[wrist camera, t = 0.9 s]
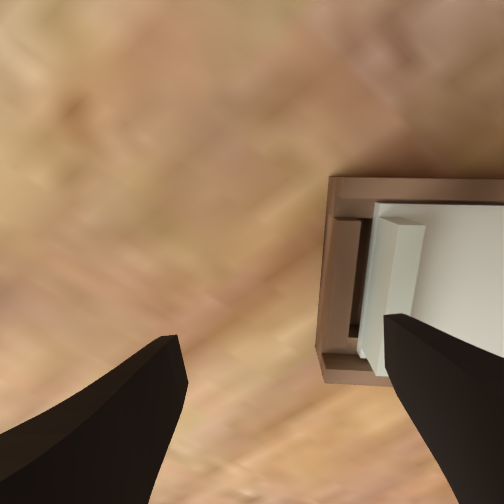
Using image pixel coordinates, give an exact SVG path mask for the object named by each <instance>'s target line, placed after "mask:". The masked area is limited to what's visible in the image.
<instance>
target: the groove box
mask: <svg viewBox="0 0 504 504" xmlns="http://www.w3.org/2000/svg"><path fill="white" fill-rule="evenodd" d="M375 202H402V203H456V204H504V179H466V178H395V177H329V182H328V195H327V207H326V220H325V232H324V244H323V257H322V269H321V282H320V294H319V307H318V319H317V331H316V344H315V348H316V352H317V356H318V359H319V363H320V367H321V371H322V375H323V379H324V383H329V384H348V385H367V386H386V387H393V385H392V383H391V381H390V378H389V377H387V376H376V375H375V373H374V371H373V369H372V367H371V365H370V363H369V361H368V360H367V358H360V356H359V354H358V352H357V343H358V335H359V327H360V319H361V311H362V303H363V295H364V287H365V278H366V270H367V262H368V254H369V246H370V238H371V230H372V222H373V214H374V206H375Z"/></svg>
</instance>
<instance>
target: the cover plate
mask: <svg viewBox="0 0 504 504" xmlns="http://www.w3.org/2000/svg"><path fill="white" fill-rule="evenodd" d="M398 313H403V314H406V315H409V316H411V317H413V318H415V319H418V320H420V321H422V322H424V323H426V324H428V325H430V326H433V327H435V328H437V329H439V330H441V331H443V332H445V333H447V334H449V335H452V336H454V337H456V338H458V339H460V340H463V341H465V342H467V343H469V344H472V345H474V346H476V347H479V348H481V349H483V350H486V351H488V352H491V353H493V354H496V355H498V356H500V357H503V358H504V204H456V203H402V202H375V206H374V214H373V222H372V230H371V238H370V246H369V254H368V262H367V270H366V278H365V287H364V295H363V303H362V311H361V319H360V327H359V335H358V343H357V352H358V354H359V356H360V358H367V360H368V361H369V363H370V365H371V367H372V369H373V371H374V373H375V375H376V376H387V377H389V376H388V374H387V371H386V369H385V359H384V324H383V315H387V314H398Z"/></svg>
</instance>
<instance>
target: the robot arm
mask: <svg viewBox="0 0 504 504" xmlns="http://www.w3.org/2000/svg"><path fill="white" fill-rule="evenodd" d="M383 324H384V359H385V369H386V371H387V374H388V376H389V378H390V381H391V383H392V385H393V387H394V390H395V392H396V394H397V396H398V398H399V399H400V401H401V403H402V405H403V406H404V408H405V410H406V411H407V413H408V415H409V416H410V418H411V420H412V421H413V423H414V425H415V426H416V428H417V430H418V431H419V433H420V435H421V436H422V438H423V440H424V441H425V443H426V445H427V446H428V448H429V449H430V451H431V453H432V454H433V456H434V458H435V459H436V461H437V463H438V464H439V466H440V468H441V470H442V472H443V473H444V475H445V477H446V479H447V481H448V482H449V484H450V486H451V488H452V490H453V492H454V494H455V496H456V498H457V500H458V502H459V504H504V358H503V357H500V356H498V355H496V354H493V353H491V352H488V351H486V350H483V349H481V348H479V347H476V346H474V345H472V344H469V343H467V342H465V341H463V340H460V339H458V338H456V337H454V336H452V335H449V334H447V333H445V332H443V331H441V330H439V329H437V328H435V327H433V326H430V325H428V324H426V323H424V322H422V321H420V320H418V319H415V318H413V317H411V316H409V315H406V314H403V313H398V314H387V315H383ZM187 387H188V379H187V375H186V370H185V366H184V362H183V357H182V353H181V349H180V344H179V340H178V336H177V335H169V336H161V337H159V338H157V339H155V340H154V341H152V342H151V343H149V344H148V345H146V346H145V347H144V348H142V349H141V350H139V351H138V352H137V353H135V354H134V355H132V356H131V357H130V358H128V359H127V360H125V361H124V362H123V363H121V364H120V365H118V366H117V367H116V368H114V369H113V370H111V371H110V372H108V373H107V374H105V375H104V376H102V377H101V378H99V379H98V380H96V381H95V382H93V383H92V384H90V385H89V386H87V387H86V388H84V389H83V390H81V391H79V392H78V393H76V394H75V395H73V396H71V397H70V398H68V399H66V400H65V401H63V402H61V403H59V404H58V405H56V406H54V407H52V408H51V409H49V410H47V411H45V412H43V413H41V414H40V415H38V416H36V417H34V418H32V419H30V420H28V421H26V422H24V423H22V424H20V425H18V426H16V427H14V428H12V429H10V430H8V431H6V432H4V433H2V434H0V504H148V502H149V499H150V495H151V492H152V490H153V487H154V484H155V481H156V478H157V475H158V473H159V470H160V467H161V465H162V462H163V460H164V457H165V454H166V452H167V449H168V446H169V444H170V441H171V439H172V436H173V433H174V431H175V428H176V425H177V423H178V420H179V417H180V414H181V412H182V408H183V404H184V400H185V396H186V392H187Z"/></svg>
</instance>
